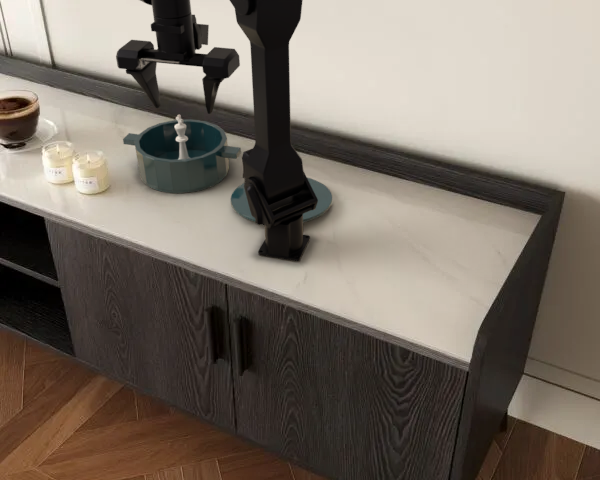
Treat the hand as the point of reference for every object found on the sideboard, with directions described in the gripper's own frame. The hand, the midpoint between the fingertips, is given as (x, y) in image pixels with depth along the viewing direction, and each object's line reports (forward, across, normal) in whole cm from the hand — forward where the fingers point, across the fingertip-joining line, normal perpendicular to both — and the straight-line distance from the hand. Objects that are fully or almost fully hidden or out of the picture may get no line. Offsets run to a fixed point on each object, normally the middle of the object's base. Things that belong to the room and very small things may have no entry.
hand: (183, 109), depth 124 cm
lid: (+12, -18, +4) cm, 22 cm away
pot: (+13, +2, -2) cm, 13 cm away
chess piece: (+12, +2, -2) cm, 13 cm away
